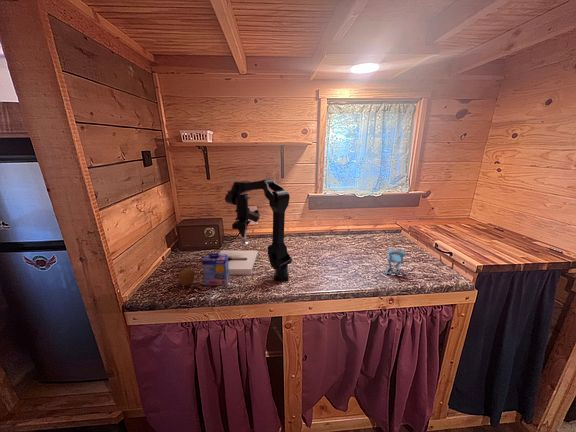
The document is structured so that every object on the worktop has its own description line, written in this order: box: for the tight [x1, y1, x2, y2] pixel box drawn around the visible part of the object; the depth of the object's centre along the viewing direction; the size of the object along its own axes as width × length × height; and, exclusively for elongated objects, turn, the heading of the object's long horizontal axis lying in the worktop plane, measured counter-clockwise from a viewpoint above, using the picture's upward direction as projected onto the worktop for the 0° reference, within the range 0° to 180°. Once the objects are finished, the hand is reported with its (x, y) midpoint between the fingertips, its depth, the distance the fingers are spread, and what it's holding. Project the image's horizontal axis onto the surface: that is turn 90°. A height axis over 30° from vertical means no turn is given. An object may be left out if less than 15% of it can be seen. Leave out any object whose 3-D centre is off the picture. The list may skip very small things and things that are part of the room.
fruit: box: [178, 267, 195, 287], centre depth 97 cm, size 6×6×8 cm
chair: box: [384, 247, 406, 277], centre depth 107 cm, size 8×8×12 cm
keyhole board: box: [218, 249, 259, 276], centre depth 115 cm, size 20×20×3 cm
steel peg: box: [239, 229, 250, 246], centre depth 116 cm, size 4×4×9 cm
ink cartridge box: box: [201, 253, 230, 286], centre depth 98 cm, size 10×6×14 cm, turn 94°
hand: (243, 236), depth 117 cm, fingers closed on steel peg, 2 cm apart
